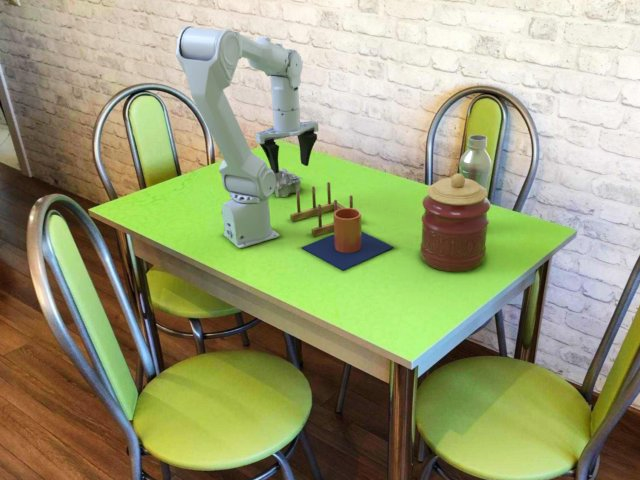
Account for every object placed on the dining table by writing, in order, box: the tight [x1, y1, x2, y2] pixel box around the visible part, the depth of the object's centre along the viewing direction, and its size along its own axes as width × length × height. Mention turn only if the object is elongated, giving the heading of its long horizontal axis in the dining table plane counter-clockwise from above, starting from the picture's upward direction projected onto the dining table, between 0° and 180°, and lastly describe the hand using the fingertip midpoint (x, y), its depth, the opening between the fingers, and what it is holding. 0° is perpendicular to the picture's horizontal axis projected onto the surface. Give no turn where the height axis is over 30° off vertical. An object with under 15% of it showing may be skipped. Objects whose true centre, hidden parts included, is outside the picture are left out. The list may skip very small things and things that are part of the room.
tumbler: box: [332, 207, 362, 253], centre depth 142 cm, size 6×6×8 cm
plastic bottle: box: [458, 134, 492, 191], centre depth 146 cm, size 6×7×20 cm
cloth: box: [301, 230, 395, 272], centre depth 144 cm, size 14×13×1 cm
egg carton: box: [273, 168, 303, 198], centre depth 169 cm, size 11×8×4 cm
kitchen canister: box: [420, 173, 491, 272], centre depth 135 cm, size 13×13×18 cm
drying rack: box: [289, 181, 354, 238], centre depth 153 cm, size 12×10×7 cm
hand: (290, 168), depth 156 cm, fingers open, 7 cm apart
